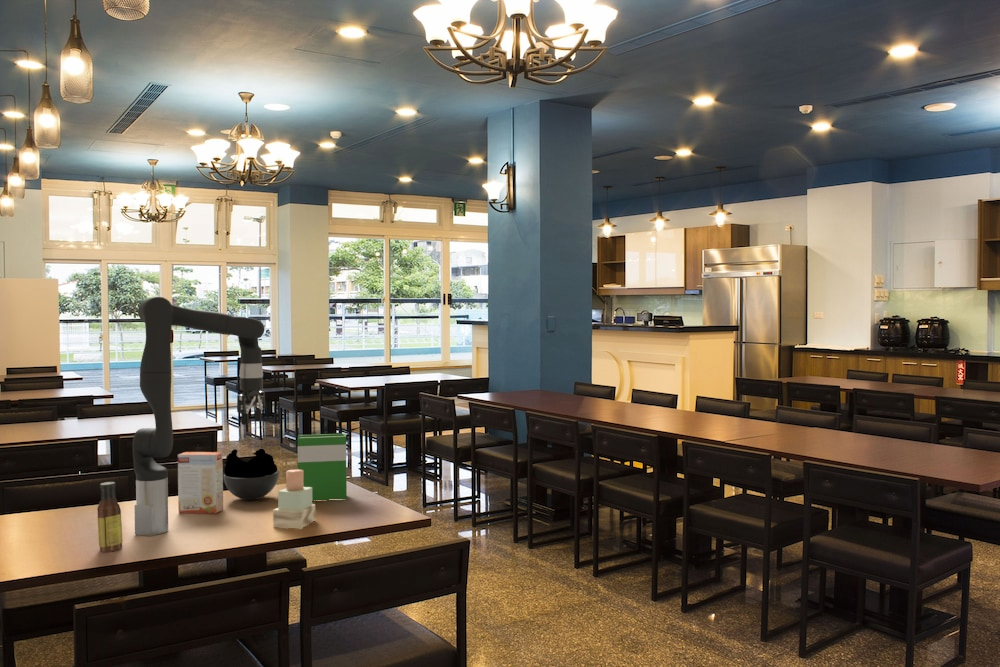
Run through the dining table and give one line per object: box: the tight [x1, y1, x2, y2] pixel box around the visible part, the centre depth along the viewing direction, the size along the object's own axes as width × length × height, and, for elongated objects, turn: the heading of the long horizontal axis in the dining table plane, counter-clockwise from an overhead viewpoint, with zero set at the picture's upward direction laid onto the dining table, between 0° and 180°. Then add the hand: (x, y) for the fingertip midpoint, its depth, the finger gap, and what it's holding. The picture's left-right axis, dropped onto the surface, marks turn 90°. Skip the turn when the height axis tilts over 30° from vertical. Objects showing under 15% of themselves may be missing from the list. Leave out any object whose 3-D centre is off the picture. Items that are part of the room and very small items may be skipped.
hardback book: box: [297, 433, 348, 501], centre depth 287 cm, size 18×7×24 cm, turn 103°
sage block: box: [277, 487, 313, 511], centre depth 252 cm, size 8×8×6 cm
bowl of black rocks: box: [223, 448, 280, 501], centre depth 287 cm, size 20×20×19 cm
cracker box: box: [177, 451, 224, 514], centre depth 269 cm, size 14×6×21 cm, turn 84°
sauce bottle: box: [96, 481, 123, 553], centre depth 225 cm, size 6×6×20 cm
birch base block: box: [272, 503, 316, 530], centre depth 252 cm, size 10×10×6 cm
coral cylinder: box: [285, 468, 303, 491], centre depth 252 cm, size 6×6×6 cm
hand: (251, 422), depth 264 cm, fingers open, 8 cm apart
